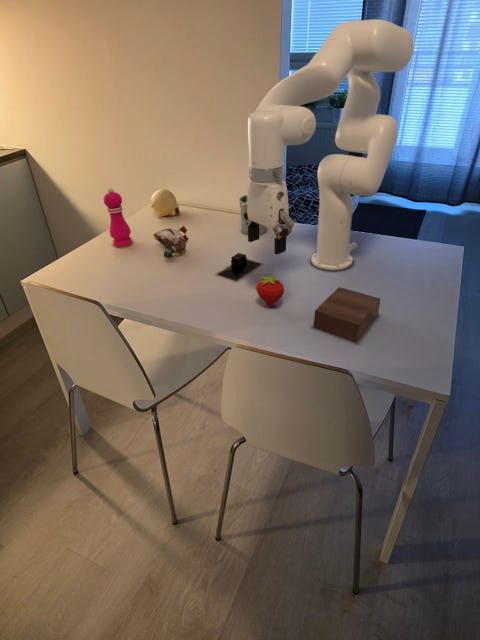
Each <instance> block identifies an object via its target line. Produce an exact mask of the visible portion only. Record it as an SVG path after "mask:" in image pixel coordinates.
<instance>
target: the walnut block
mask: <svg viewBox="0 0 480 640" xmlns="http://www.w3.org/2000/svg"><path fill="white" fill-rule="evenodd" d="M381 301H382V300H381V298H380V297H377V296H372V295H370V294H366V293H363V292H358V291H355V290H351V289H348V288H345V287H341V286H338V287H337V288H336V289H335V290H334V291H333V292H332V293H331V294H330V295H328V297H327V298H326V299H325V300H324V301H322V303H321V304H319V306H318V307H317V308H315V309H314V317H313V318H314V319H313V328H314V329H317V330H320V331H322V332H325V333H329V334H331V335H335V336H338V337H340V338H342V339H345V340H349V341H351V342H354V343H358V341H359V340H360V339H361V337H362V336H363V335H365V332H366V331H367V330H369V329H368V328H369V327H370V326H371V325H372V323H374V321H375V320H376V319H377V317H378V316H379V310H380V305H381Z"/></svg>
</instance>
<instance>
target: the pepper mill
mask: <svg viewBox="0 0 480 640" xmlns="http://www.w3.org/2000/svg"><path fill="white" fill-rule="evenodd" d="M122 203H123V198H122V196H121V194H120V193H118V192H116V191H114V189H113V188H112V187H109V188H108V189H107V192H106V194H104V196H103V204H104V206H106V207H107V208H106V210H107V213H109V217H110V225H109V236H110V237H111V238H112V239H113V240H112V242H113V245H114V247H116V248H125V247H128V246H130V245H131V244H132V237H131V234H132V232H131V228H130V226H129V224H128V223H127V221H126V219H125V217H124V215H123V210H124V208H123V206H122Z"/></svg>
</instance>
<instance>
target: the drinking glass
mask: <svg viewBox="0 0 480 640" xmlns="http://www.w3.org/2000/svg"><path fill="white" fill-rule="evenodd" d="M238 200H239V208H240V209H239V210H240V220H241V231H242V233H243V234H245V235H247V236H248V226H247V225H246V220H245V218H244V213H243V210H242V207H241V205H243V204H245V203H247V194H245V195H242V196H240V197H239V199H238ZM256 224H258V223H256ZM266 229H267V227H266V226H263V225H261V224H259V235H262V234H265V232H266Z"/></svg>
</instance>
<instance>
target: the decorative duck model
mask: <svg viewBox="0 0 480 640" xmlns="http://www.w3.org/2000/svg"><path fill="white" fill-rule="evenodd" d="M187 232H188V229H187V228H186V226H185V225H182V226H181V227H180V228H179V229H178V230H177V229H174V228H164V229H161V230H159V231H157V232H155V233H153V236H152V237H153V239H155V240H156V241H157V242H159V244H161V245H162V246H163V247H165V248H166V250H164V253H163V257H164V258H165V259H170V258H174V257H180V256H181V254H180V253H182V252H184V251H185V250H186V248H187V243H188V240H189V239H190V238H189V237H188V236H187ZM183 234H184V235H183Z"/></svg>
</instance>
